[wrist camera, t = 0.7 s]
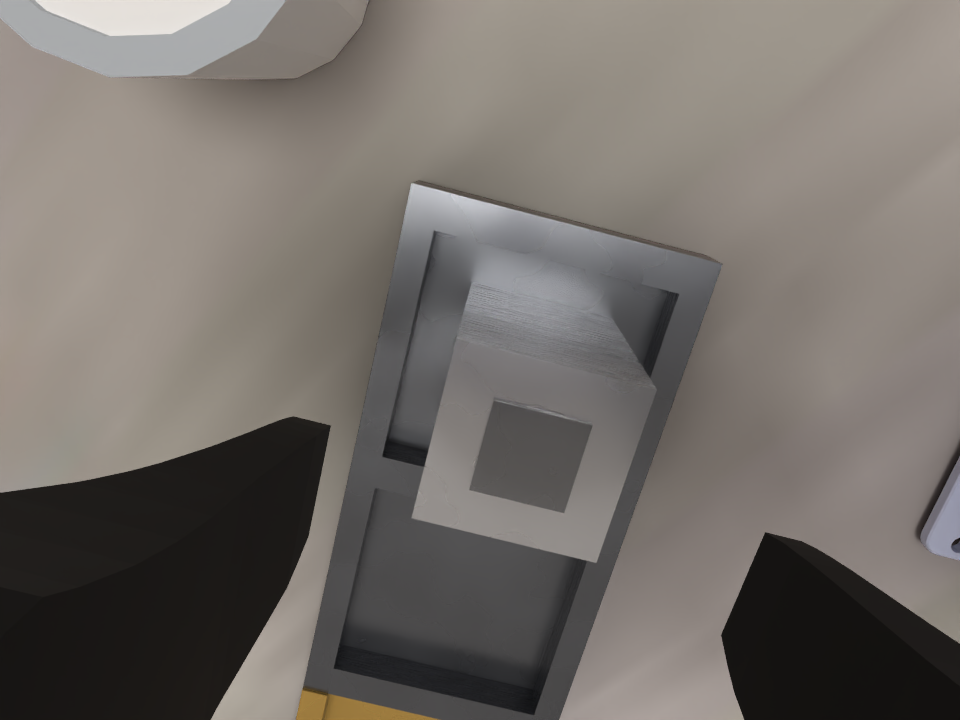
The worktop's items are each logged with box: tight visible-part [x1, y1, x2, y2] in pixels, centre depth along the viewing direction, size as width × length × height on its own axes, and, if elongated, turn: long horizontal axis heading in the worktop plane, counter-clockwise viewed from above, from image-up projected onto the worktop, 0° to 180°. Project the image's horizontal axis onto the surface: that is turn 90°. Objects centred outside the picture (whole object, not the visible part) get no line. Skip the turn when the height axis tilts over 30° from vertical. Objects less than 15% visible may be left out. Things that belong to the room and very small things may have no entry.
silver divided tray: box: [296, 181, 722, 720], centre depth 21 cm, size 8×24×2 cm, turn 166°
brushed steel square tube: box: [412, 282, 657, 563], centre depth 17 cm, size 4×4×6 cm
